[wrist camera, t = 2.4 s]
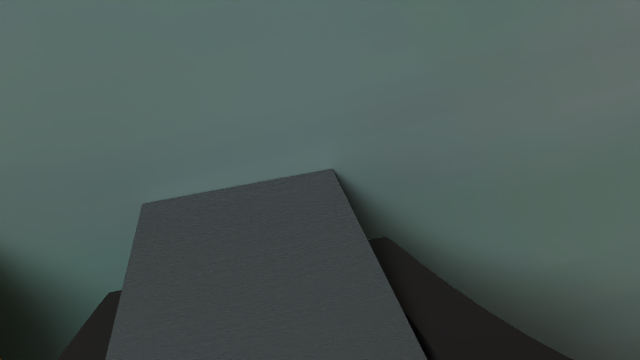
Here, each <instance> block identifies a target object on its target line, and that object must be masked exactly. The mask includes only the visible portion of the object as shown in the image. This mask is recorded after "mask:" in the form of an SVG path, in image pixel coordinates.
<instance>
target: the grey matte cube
mask: <svg viewBox="0 0 640 360" xmlns="http://www.w3.org/2000/svg"><path fill="white" fill-rule="evenodd" d="M105 360H427V358H426V356H425V354H424V352H423V350H422V348H421V346H420V344H419V342H418V340H417V338H416V336H415V334H414V332H413V330H412V328H411V326H410V324H409V322H408V320H407V318H406V316H405V314H404V312H403V310H402V308H401V306H400V304H399V302H398V300H397V298H396V296H395V294H394V292H393V290H392V288H391V286H390V284H389V282H388V280H387V278H386V276H385V274H384V272H383V270H382V268H381V266H380V264H379V262H378V260H377V258H376V256H375V254H374V252H373V250H372V248H371V246H370V244H369V242H368V240H367V238H366V236H365V234H364V232H363V230H362V228H361V226H360V224H359V222H358V220H357V218H356V216H355V214H354V212H353V210H352V208H351V206H350V204H349V202H348V200H347V198H346V196H345V194H344V192H343V190H342V188H341V186H340V184H339V182H338V180H337V178H336V176H335V174H334V172H333V170H332V169H329V170H323V171H318V172H313V173H307V174H302V175H296V176H291V177H286V178H280V179H275V180H269V181H264V182H259V183H253V184H248V185H242V186H237V187H232V188H226V189H221V190H215V191H210V192H205V193H199V194H194V195H188V196H183V197H178V198H172V199H167V200H161V201H156V202H151V203H145V204H142V208H141V212H140V216H139V220H138V225H137V229H136V233H135V237H134V241H133V246H132V250H131V254H130V258H129V262H128V267H127V271H126V275H125V279H124V283H123V288H122V292H121V296H120V300H119V304H118V309H117V313H116V317H115V321H114V325H113V330H112V334H111V338H110V342H109V346H108V351H107V355H106V359H105Z"/></svg>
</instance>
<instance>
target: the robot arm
mask: <svg viewBox="0 0 640 360" xmlns="http://www.w3.org/2000/svg"><path fill="white" fill-rule="evenodd" d="M368 242H369V244H370V246H371V248H372V250H373V252H374V254H375V256H376V258H377V260H378V262H379V264H380V266H381V268H382V270H383V272H384V274H385V276H386V278H387V280H388V282H389V284H390V286H391V288H392V290H393V292H394V294H395V296H396V298H397V300H398V302H399V304H400V306H401V308H402V310H403V312H404V314H405V316H406V318H407V320H408V322H409V324H410V326H411V328H412V330H413V332H414V334H415V336H416V338H417V340H418V342H419V344H420V346H421V348H422V350H423V352H424V354H425V356H426V358H427V360H572V359H570V358H568V357H566V356H564V355H562V354H561V353H559V352H557V351H555V350H553V349H551V348H549V347H547V346H545V345H543V344H542V343H540V342H538V341H536V340H534V339H533V338H531V337H529V336H527V335H526V334H524V333H522V332H521V331H519V330H517V329H516V328H514V327H512V326H511V325H509V324H508V323H506V322H504V321H503V320H501V319H499V318H498V317H496V316H495V315H493V314H491V313H490V312H488V311H487V310H485V309H484V308H482V307H481V306H479V305H478V304H476V303H475V302H473V301H472V300H470V299H469V298H468V297H466V296H465V295H463V294H462V293H460V292H459V291H458V290H456V289H455V288H453V287H452V286H450V285H449V284H448V283H446V282H445V281H443V280H442V279H441V278H439V277H438V276H437V275H435V274H434V273H433V272H431V271H430V270H429V269H427V268H426V267H425V266H424V265H422V264H421V263H420V262H418V261H417V260H416V259H414V258H413V257H412V256H411V255H409V254H408V253H407V252H405V251H404V250H403V249H402V248H400V247H399V246H398V245H397V244H395V243H394V242H393V241H391V240H390V239H388V238H387V237H382V238H377V239H372V240H368ZM121 292H122V290H120V291H115V292H110V293H108V295H107V296H106V297H105V298H104V299H103V301H102V302H101V303H100V304H99V306H98V307H97V308H96V310H95V311H94V312H93V314H92V315H91V316H90V318H89V319H88V320H87V321H86V323H85V324H84V325H83V327H82V328H81V329H80V331H79V332H78V333H77V334H76V336H75V337H74V338H73V340H72V341H71V342H70V344H69V345H68V346H67V347H66V349H65V350H64V351H63V353H62V354H61V355H60V356H59V358H58V359H57V360H105V359H106V355H107V351H108V346H109V342H110V338H111V334H112V330H113V325H114V321H115V317H116V313H117V309H118V304H119V300H120V296H121Z"/></svg>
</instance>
